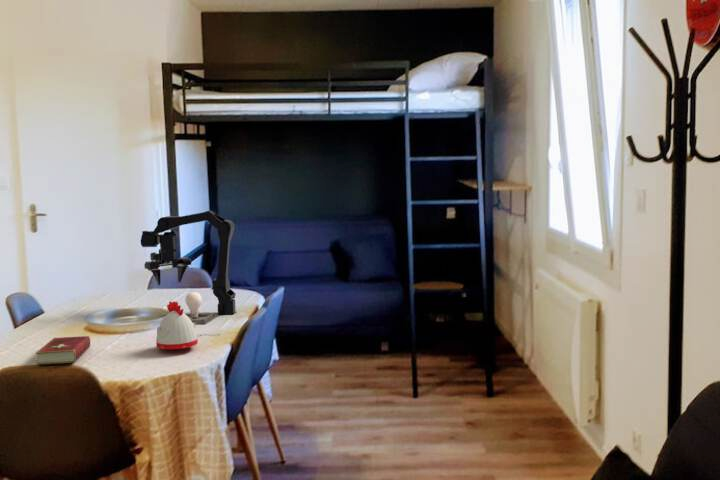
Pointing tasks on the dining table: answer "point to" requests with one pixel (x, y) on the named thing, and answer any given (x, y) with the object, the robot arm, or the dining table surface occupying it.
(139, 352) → the dining table surface
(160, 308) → the dining table surface
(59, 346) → the hardcover book
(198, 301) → the light bulb
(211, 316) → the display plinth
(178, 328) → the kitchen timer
